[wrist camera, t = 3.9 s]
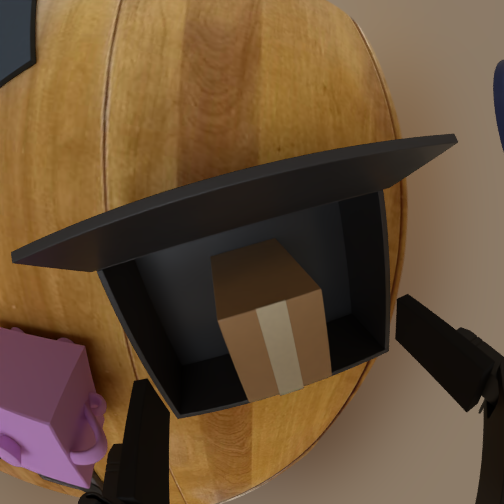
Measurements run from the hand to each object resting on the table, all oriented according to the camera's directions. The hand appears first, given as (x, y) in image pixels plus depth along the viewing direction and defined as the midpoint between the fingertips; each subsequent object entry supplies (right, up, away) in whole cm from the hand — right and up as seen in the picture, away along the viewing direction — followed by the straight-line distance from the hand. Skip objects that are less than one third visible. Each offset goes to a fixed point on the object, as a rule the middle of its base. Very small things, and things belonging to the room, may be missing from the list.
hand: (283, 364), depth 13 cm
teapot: (-24, -6, +9) cm, 26 cm away
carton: (-2, +3, +10) cm, 10 cm away
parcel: (-2, +3, +9) cm, 10 cm away
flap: (-2, +7, -2) cm, 8 cm away
